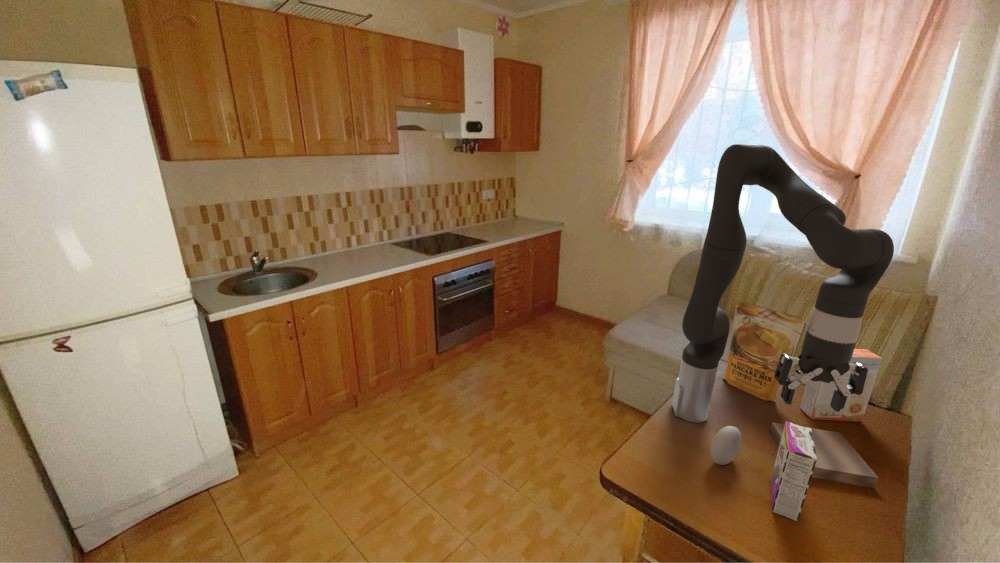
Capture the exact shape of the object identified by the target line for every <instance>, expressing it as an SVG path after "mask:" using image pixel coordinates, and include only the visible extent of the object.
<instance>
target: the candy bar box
mask: <svg viewBox="0 0 1000 563" xmlns="http://www.w3.org/2000/svg"><path fill="white" fill-rule="evenodd" d="M784 424H785V426H784V430H783V434H782V437H781V441H780V445H779V446H778V449H777V455H776V457H775V462H774V464H773V468H772V472H771V476H770V490H771V493H770V494H771V513H774V514H776V515H779V516H781V517H784V518H787V519H788V520H792V521H794V522H799V521H800V516H801V513H802V510H803V507H804V503H805V500H806V497H807V493H808V491H809V487H810V483H811V480H812V478H813V477H812V474H813V470H814V467H815V464H816V461H817V457H816V451H815V445H814V440H813V434H812V429H811V428H812V427H807V426H804V425H802V424H797V423H794V422H791V421H785V423H784Z"/></svg>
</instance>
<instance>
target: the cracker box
mask: <svg viewBox="0 0 1000 563" xmlns="http://www.w3.org/2000/svg"><path fill="white" fill-rule="evenodd" d="M882 360H883V357H881V356H880V355H877V354H876V353H874V352H873V351H871V350H869V349H867V348H854V351H853V355H852V358H851V360H850V361H849V363H854V362H856V361H858V362H860V363H861V364H863V365H864V366H865V367H866V368H867V369H868V372H867V376H866V380H865V384H864V388H863V392H862V394H861V395H857V394H850V395H849V396H848V397H847V400H846V403H845V406H844V408H843V409H841V410H840V411H834V410H833V409H832V407H831V406H830V403H831V400H832V397H833V394H834V390H837V388H836V386H835V384H834V383H833V381H832V382H830V383H825V382H822V381H811V380H809V381H807V382H806V383H805V387H804V391H803V393H802V398H801V403H800V406H799V408H800V410H802V412H804V414H805V415H806V416H808V418H809V419H811V420H821V421H824V420H825V421H838V422H855V423H856V422H857V423H862V422H863V419H864V416H865V412H866V410H867V408H868V403H869V400H870V397H871V394H872V392H873V389H874V386H875V383H876V380H877V376H878V373H879V370H880V367H881V364H882ZM850 375H851V372H850V371H848V372H846V373H845V374H843V375H842V376H841V377H842V379H843V380H844V382H845V384H846V385H848V383H849V379H850Z"/></svg>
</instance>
